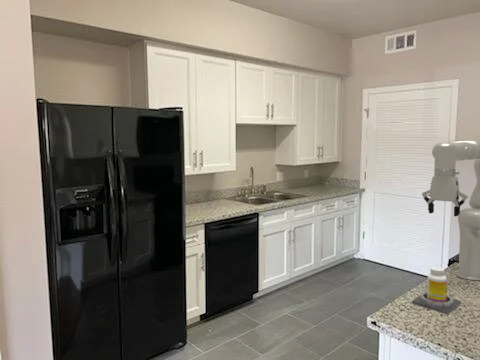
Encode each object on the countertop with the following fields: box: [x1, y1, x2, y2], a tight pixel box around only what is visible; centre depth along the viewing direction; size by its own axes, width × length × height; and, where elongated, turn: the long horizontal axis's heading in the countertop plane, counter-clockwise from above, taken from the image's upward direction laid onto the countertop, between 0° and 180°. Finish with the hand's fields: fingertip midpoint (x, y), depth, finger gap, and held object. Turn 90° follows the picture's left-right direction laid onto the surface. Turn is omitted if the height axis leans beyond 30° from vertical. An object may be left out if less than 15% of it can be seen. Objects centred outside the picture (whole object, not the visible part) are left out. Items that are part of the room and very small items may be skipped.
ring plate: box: [411, 291, 462, 315], centre depth 141 cm, size 13×13×2 cm
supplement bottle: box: [426, 266, 448, 303], centre depth 141 cm, size 7×7×13 cm
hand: (443, 214), depth 152 cm, fingers open, 9 cm apart
